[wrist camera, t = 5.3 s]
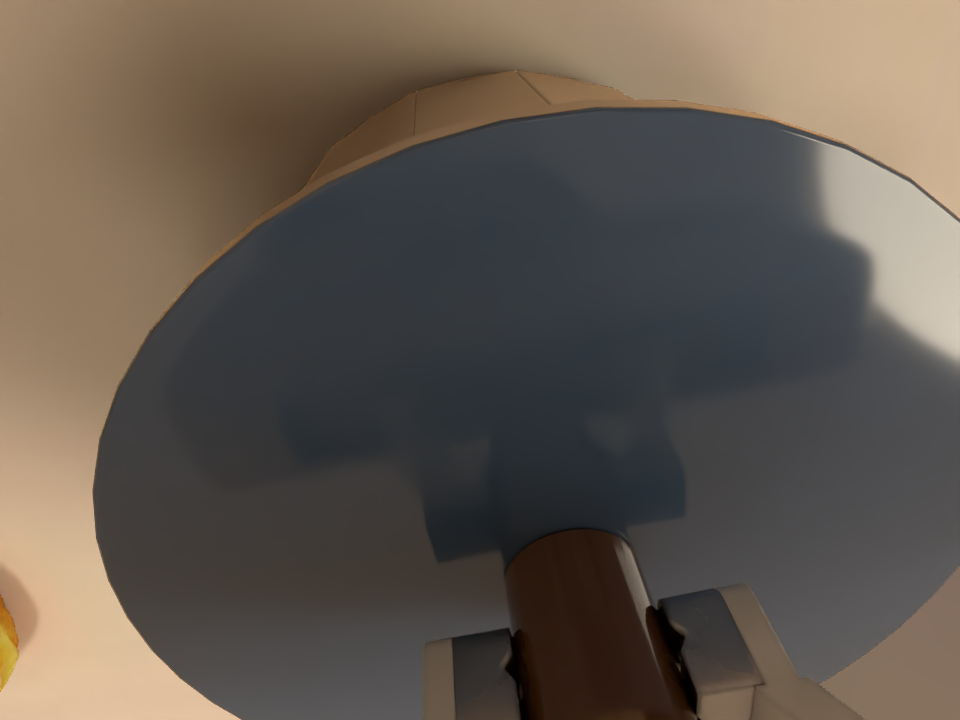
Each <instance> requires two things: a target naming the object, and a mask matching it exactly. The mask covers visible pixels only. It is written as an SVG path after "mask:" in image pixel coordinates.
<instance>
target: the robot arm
mask: <svg viewBox="0 0 960 720" xmlns="http://www.w3.org/2000/svg"><path fill="white" fill-rule="evenodd" d="M657 611H658V614H659V617H660V619H661V622H662V625H663V627H664V630H665V633H666V635H667V638H668V641H669V643H670V646H671V649H672V651H673V654H674V657H675V660H676V662H677V665H678V668H679V670H680V673H681V676H682V678H683V681H684V684H685V687H686V689H687V692H688V695H689V697H690V700H691V703H692V705H693V708H694V711H695V713H696V716H697V719H698V720H866V719H865V718H863V717H862V716H861V715H859V714H858V713H857V712H855V711H854V710H853V709H851V708H850V707H849V706H847V705H846V704H845V703H843V702H842V701H841V700H839V699H838V698H837V697H835V696H834V695H833V694H831V693H830V692H829V691H827V690H826V689H825V688H823V687H822V686H820V685H819V684H818V683H817V682H815V681H814V680H813V679H811V678H810V677H804V678H799V676H798V674H797V672H796V670H795V668H794V667H793V665H792V663H791V661H790V659H789V657H788V655H787V654H786V652H785V650H784V648H783V646H782V644H781V643H780V641H779V639H778V637H777V635H776V633H775V632H774V630H773V628H772V626H771V624H770V622H769V620H768V619H767V617H766V615H765V613H764V611H763V609H762V608H761V606H760V604H759V602H758V600H757V598H756V597H755V595H754V593H753V591H752V589H751V588H750V587H748V586H747V585H746V584H744V583H739V584H734V585H729V586H724V587H718V588H711V589H706V590H701V591H696V592H691V593H686V594H681V595H677V596H672V597H667V598H662V599H659V600H658V602H657ZM517 676H518V672H517V665H516V659H515V652H514V645H513V638H512V634H511V631H510V627H507V628H501V629H496V630H491V631H485V632H480V633H475V634H469V635H464V636H458V637H450V638H445V639H440V640H435V641H430V642H425V645H424V650H423V720H524V716H523V709H522V701H521V698H520V693H519V686H518V679H517Z"/></svg>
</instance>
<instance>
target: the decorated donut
mask: <svg viewBox="0 0 960 720" xmlns="http://www.w3.org/2000/svg"><path fill="white" fill-rule="evenodd" d="M17 647H18V636H17V634H16V631H15V625H14V622H13V619H12V617H11V616H10V613H9V612H8V610H7V609H6V607H5V606H4V603H3V598H2V597H1V596H0V692H1V690H2V689H3V687H4V686H5V685H6V683H7V681H8V679H9V677H10V675H11V674H12V672H13V670H14V666H15V663H16V661H17V660H18V656H19V651H18V649H17Z"/></svg>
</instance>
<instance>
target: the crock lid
mask: <svg viewBox="0 0 960 720" xmlns="http://www.w3.org/2000/svg"><path fill="white" fill-rule="evenodd" d="M93 503H94V517H95V530H96V539H97V543H98V546H99V550H100V553H101V557H102V560H103V564H104V567H105V571H106V574H107V578H108V581H109V583H110V585H111V587H112V589H113V591H114V593H115V595H116V597H117V599H118V601H119V603H120V605H121V606H122V608H123V610H124V612H125V614H126V616H127V618H128V619H129V621H130V622H131V623H132V625H133V626H134V627H135V629H136V630H137V631H138V633H139V634H140V635H141V637H142V638H143V640H144V641H145V642H146V644H147V645H148V646H149V648H150V649H151V650H152V651H153V652H154V653H155V654H156V655H157V656H158V657H159V658H160V659H161V660H162V661H163V662H164V663H165V664H166V665H167V666H168V667H169V668H170V669H171V670H172V671H173V672H174V673H175V674H176V675H177V676H178V677H179V678H180V679H181V680H183V681H184V682H185V683H187V684H188V685H189V686H191V687H192V688H193V689H195V690H196V691H197V692H199V693H200V694H201V695H203V696H204V697H205V698H207V699H208V700H209V701H211V702H212V703H214V704H215V705H217V706H219V707H221V708H222V709H224V710H226V711H227V712H229V713H231V714H233V715H234V716H236V717H238V718H239V719H241V720H423V650H424V645H425V642H430V641H435V640H440V639H445V638H450V637H458V636H464V635H469V634H475V633H480V632H485V631H491V630H496V629H501V628H507V627H510V631H511V634H512V638H513V645H514V652H515V659H516V665H517V672H518V676H517V679H518V686H519V693H520V698H521V701H522V709H523V716H524V720H698V719H697V716H696V713H695V711H694V708H693V705H692V703H691V700H690V697H689V695H688V692H687V689H686V687H685V684H684V681H683V678H682V676H681V673H680V670H679V668H678V665H677V662H676V660H675V657H674V654H673V651H672V649H671V646H670V643H669V641H668V638H667V635H666V633H665V630H664V627H663V625H662V622H661V619H660V617H659V614H658V611H657V602H658V600H659V599H662V598H667V597H672V596H677V595H681V594H686V593H691V592H696V591H701V590H706V589H711V588H718V587H724V586H729V585H734V584H739V583H744V584H746V585H747V586H748V587H750V588H751V589H752V591H753V593H754V595H755V597H756V598H757V600H758V602H759V604H760V606H761V608H762V609H763V611H764V613H765V615H766V617H767V619H768V620H769V622H770V624H771V626H772V628H773V630H774V632H775V633H776V635H777V637H778V639H779V641H780V643H781V644H782V646H783V648H784V650H785V652H786V654H787V655H788V657H789V659H790V661H791V663H792V665H793V667H794V668H795V670H796V672H797V674H798V676H799V678H804V677H810V678H811V679H813V680H814V681H815V682H817V683H818V684H820V683H821V682H823V681H825V680H827V679H829V678H830V677H832V676H833V675H835V674H836V673H838V672H839V671H841V670H843V669H844V668H845V667H847V666H848V665H850V664H851V663H853V662H855V661H856V660H857V659H859V658H861V657H862V656H864V655H865V654H867V653H868V652H869V651H870V650H872V649H873V648H874V647H875V646H877V645H878V644H879V643H880V642H882V641H883V640H884V639H885V638H887V637H888V636H889V635H891V634H892V633H893V632H894V631H896V630H897V629H898V628H900V627H901V626H902V625H903V624H904V623H905V622H906V621H907V620H908V619H909V618H910V617H912V616H913V615H914V614H915V613H916V612H917V611H918V610H919V609H920V608H921V607H922V606H923V605H924V604H925V603H927V602H928V601H929V600H930V599H931V598H932V597H933V596H934V595H935V593H936V592H937V591H938V590H939V589H940V588H941V587H942V585H943V584H944V583H945V582H946V581H947V580H948V579H949V577H950V576H951V575H952V574H953V573H954V572H955V571H956V570H957V568H958V567H959V566H960V219H959V218H958V217H957V216H956V215H955V214H954V213H952V212H951V211H950V210H949V209H947V208H946V207H945V206H944V205H943V204H941V203H940V202H939V201H938V200H936V199H935V198H934V197H933V196H932V195H930V194H929V193H928V192H927V191H925V190H924V189H923V188H922V187H921V186H919V185H918V184H917V183H916V182H914V181H913V180H912V179H911V178H910V177H908V176H906V175H904V174H902V173H900V172H898V171H896V170H895V169H893V168H891V167H889V166H887V165H885V164H883V163H881V162H880V161H878V160H876V159H874V158H872V157H870V156H868V155H866V154H865V153H863V152H861V151H859V150H857V149H855V148H853V147H852V146H850V145H848V144H845V143H843V142H841V141H838V140H836V139H833V138H831V137H828V136H826V135H822V134H819V133H816V132H813V131H810V130H807V129H804V128H801V127H798V126H795V125H792V124H789V123H785V122H782V121H779V120H776V119H773V118H770V117H767V116H764V115H761V114H758V113H754V112H748V111H742V110H735V109H729V108H722V107H716V106H709V105H703V104H696V103H690V102H683V101H677V100H581V101H573V102H566V103H559V104H552V105H544V106H537V107H530V108H523V109H515V110H508V111H501V112H496V113H492V114H489V115H485V116H482V117H478V118H475V119H471V120H468V121H464V122H460V123H457V124H453V125H450V126H446V127H443V128H439V129H436V130H432V131H428V132H425V133H421V134H418V135H414V136H411V137H409V138H407V139H404V140H402V141H400V142H398V143H395V144H393V145H391V146H388V147H386V148H384V149H382V150H379V151H377V152H375V153H372V154H370V155H368V156H366V157H363V158H361V159H359V160H356V161H354V162H352V163H350V164H347V165H345V166H343V167H340V168H338V169H336V170H334V171H332V172H330V173H328V174H327V175H325V176H324V177H322V178H320V179H319V180H317V181H316V182H314V183H312V184H311V185H309V186H308V187H306V188H304V189H303V190H301V191H299V192H298V193H296V194H295V195H293V196H291V197H290V198H288V199H287V200H285V201H283V202H282V203H280V204H279V205H277V206H275V207H274V208H272V209H270V210H269V211H267V212H266V213H264V214H263V215H261V216H260V217H259V218H258V219H257V220H256V221H254V222H253V223H252V224H251V225H250V226H249V227H247V228H246V229H245V230H244V231H243V232H241V233H240V234H239V235H238V236H237V237H236V238H234V239H233V240H232V241H231V242H230V243H229V244H227V245H226V246H225V247H224V248H223V249H222V250H220V251H219V252H218V253H217V254H216V255H215V256H213V257H212V258H211V259H210V260H209V261H207V262H206V263H205V264H204V266H203V267H202V268H201V269H200V270H199V272H198V273H197V274H196V275H195V276H194V277H193V279H192V280H191V281H190V282H189V283H188V284H187V286H186V287H185V288H184V289H183V290H182V292H181V293H180V294H179V295H178V296H177V297H176V299H175V300H174V301H173V302H172V303H171V305H170V306H169V307H168V308H167V309H166V310H165V312H164V313H163V314H162V315H161V316H160V318H159V319H158V320H157V322H156V323H155V324H154V326H153V327H152V329H151V330H150V331H149V333H148V335H147V336H146V338H145V340H144V341H143V343H142V345H141V347H140V348H139V350H138V352H137V354H136V355H135V357H134V359H133V360H132V362H131V364H130V366H129V367H128V369H127V371H126V372H125V374H124V376H123V378H122V379H121V381H120V383H119V384H118V386H117V389H116V392H115V395H114V398H113V401H112V404H111V407H110V409H109V412H108V415H107V418H106V421H105V424H104V427H103V430H102V432H101V435H100V438H99V445H98V452H97V460H96V467H95V475H94V482H93Z"/></svg>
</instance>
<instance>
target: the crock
mask: <svg viewBox="0 0 960 720" xmlns="http://www.w3.org/2000/svg"><path fill="white" fill-rule="evenodd" d="M581 100H634V99H632V98H630V97H629V96H627V95H625V94H623V93H622V92H620V91H618V90H615V89H614V88H612V87H607V86H602V85H596V84H591V83H586V82H582V81H579V80H576V79H572V78H566V77H560V76H554V75H547V74H541V73H532V72H527V71H521V70H517V71H508V72H503V73H494V74H487V75H479V76H472V77H464V78H461V79H457V80H454V81H450V82H447V83H443V84H440V85H436V86H432V87H429V88H426V89H421V90H418V91H417V92H416V91H414V92H412V93H411V94H409V95H408V96H406V97H405V98H403V99H402V100H400V101H397V102H395V103H394V104H392V105H390V106H389V107H387V108H386V109H384V110H382V111H381V112H379V113H378V114H376V115H374V116H373V117H371V118H370V119H368V120H366V121H365V122H364V123H362V124H361V125H360V126H359V127H358V128H357V129H355V130H354V131H353V132H352V133H350V134H349V135H347V136H346V137H344V138H343V139H341V140H339V141H338V142H336V143H335V144H334V145H333V147H331V148H330V149H329V151H328V152H327V154H326V155H325V157H324V158H323V160H322V161H321V163H320V164H319V166H318V167H317V169H316V170H315V171H314V173H313V174H312V176H311V177H310V179H309V180H308V182H307V183H306V185H305V186H304V188H306V187H308V186H309V185H311V184H312V183H314V182H316V181H317V180H319V179H320V178H322V177H324V176H325V175H327V174H328V173H330V172H332V171H334V170H336V169H338V168H340V167H343V166H345V165H347V164H350V163H352V162H354V161H356V160H359V159H361V158H363V157H366V156H368V155H370V154H372V153H375V152H377V151H379V150H382V149H384V148H386V147H388V146H391V145H393V144H395V143H398V142H400V141H402V140H404V139H407V138H409V137H411V136H414V135H418V134H421V133H425V132H428V131H432V130H436V129H439V128H443V127H446V126H450V125H453V124H457V123H460V122H464V121H468V120H471V119H475V118H478V117H482V116H485V115H489V114H492V113H496V112H501V111H508V110H515V109H523V108H530V107H537V106H544V105H552V104H559V103H566V102H573V101H581ZM304 188H303V189H304ZM303 189H302V190H303Z"/></svg>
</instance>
